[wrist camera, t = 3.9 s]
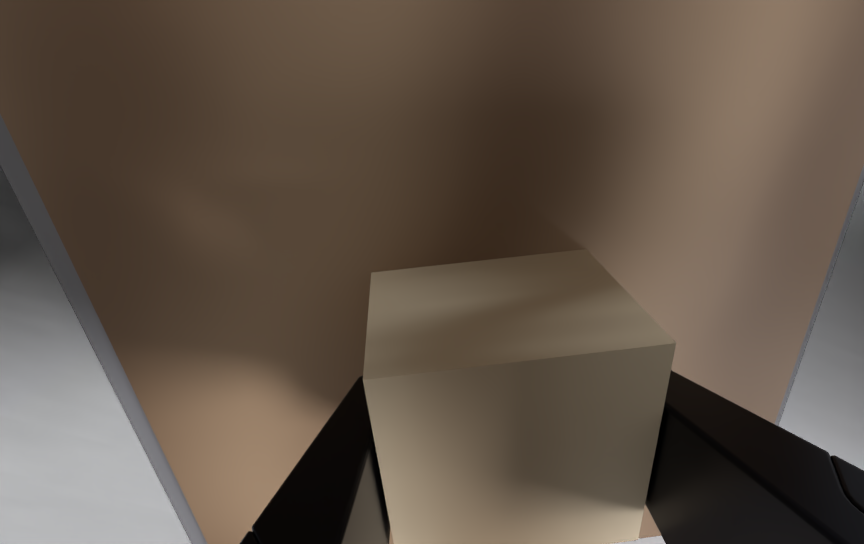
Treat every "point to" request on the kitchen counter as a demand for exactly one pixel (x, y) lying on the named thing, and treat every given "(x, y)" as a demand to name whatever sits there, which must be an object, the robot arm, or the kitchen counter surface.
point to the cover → (442, 231)
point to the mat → (7, 156)
